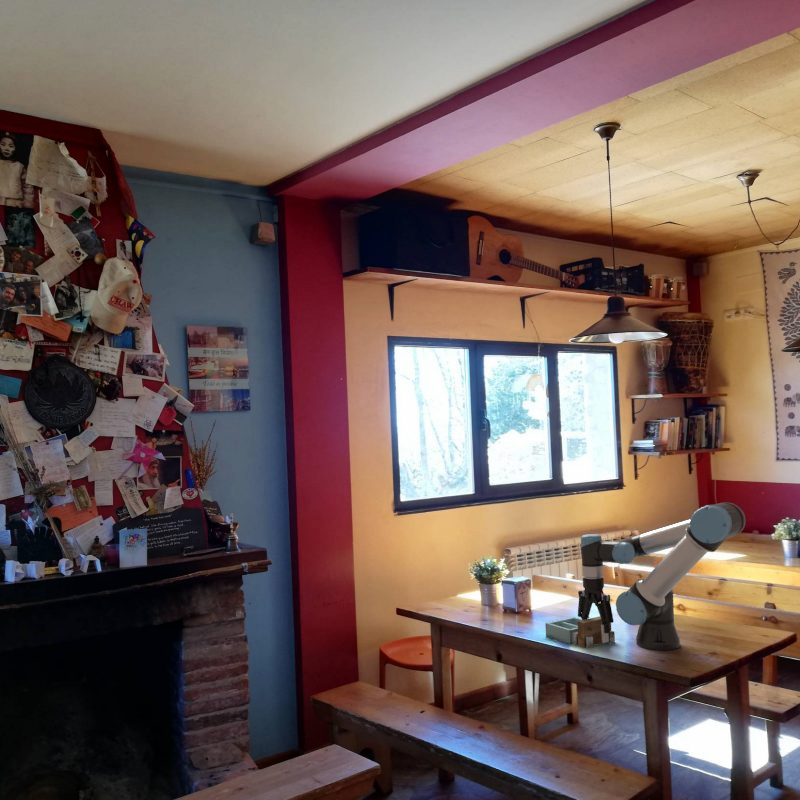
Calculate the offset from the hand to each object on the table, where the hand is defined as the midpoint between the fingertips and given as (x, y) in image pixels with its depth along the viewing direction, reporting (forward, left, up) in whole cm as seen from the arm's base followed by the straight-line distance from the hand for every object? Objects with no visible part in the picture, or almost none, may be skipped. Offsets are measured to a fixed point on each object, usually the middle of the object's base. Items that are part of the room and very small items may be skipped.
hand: (596, 639), depth 290 cm
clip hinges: (+1, 0, -2) cm, 2 cm away
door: (+1, 0, -2) cm, 2 cm away
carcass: (+12, 0, -2) cm, 12 cm away
